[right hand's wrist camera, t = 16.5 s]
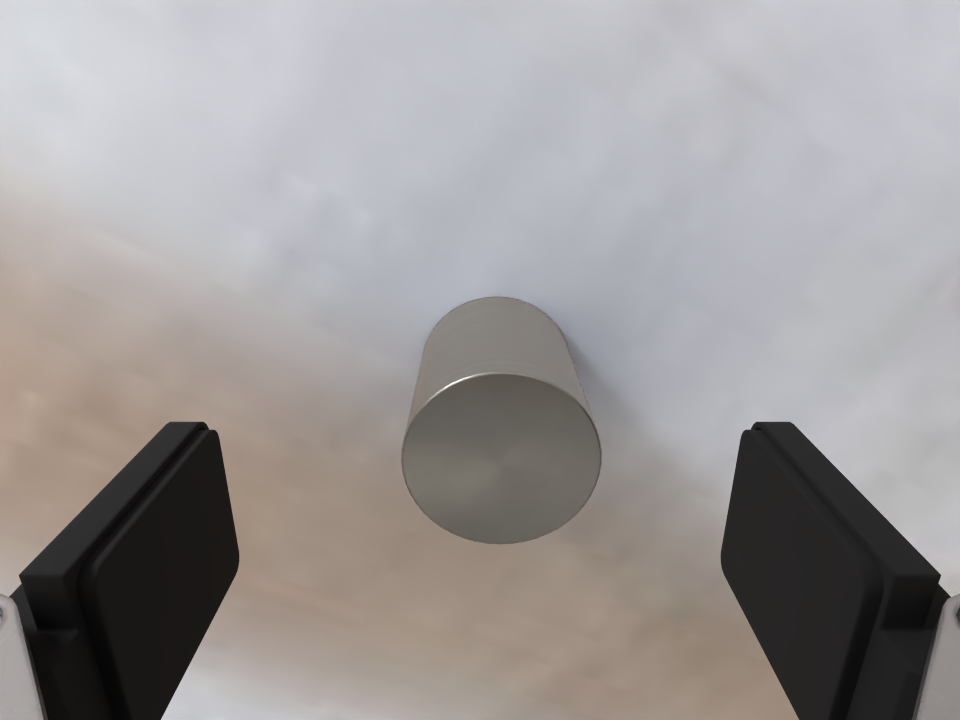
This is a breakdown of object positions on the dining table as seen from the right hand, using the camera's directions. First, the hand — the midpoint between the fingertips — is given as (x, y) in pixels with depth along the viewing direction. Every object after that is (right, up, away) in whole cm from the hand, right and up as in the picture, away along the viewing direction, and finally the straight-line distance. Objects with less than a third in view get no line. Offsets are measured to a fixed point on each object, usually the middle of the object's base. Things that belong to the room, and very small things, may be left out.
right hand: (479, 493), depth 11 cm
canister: (0, +2, +6) cm, 6 cm away
